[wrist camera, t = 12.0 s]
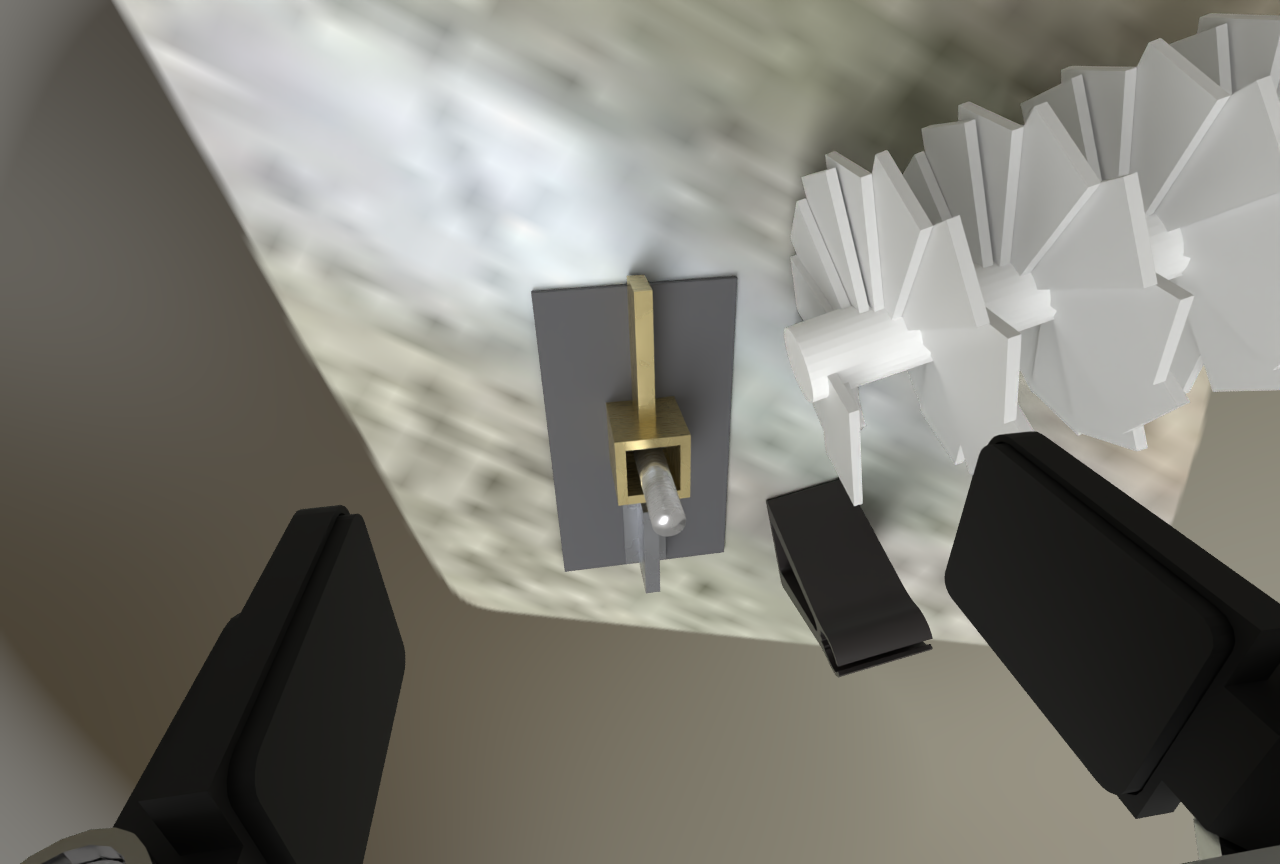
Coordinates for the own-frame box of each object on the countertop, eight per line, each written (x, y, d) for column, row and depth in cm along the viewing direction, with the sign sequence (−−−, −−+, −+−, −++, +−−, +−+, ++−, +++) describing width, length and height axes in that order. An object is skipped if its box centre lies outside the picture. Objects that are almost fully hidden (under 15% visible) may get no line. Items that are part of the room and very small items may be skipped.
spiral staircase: (725, 227, 40) (1123, 77, 37) (811, 485, 41) (1197, 357, 39) (769, 117, 22) (1545, -185, 19) (919, 586, 23) (1650, 358, 21)
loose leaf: (597, 278, 36) (605, 306, 31) (673, 272, 36) (691, 299, 32) (609, 461, 42) (618, 505, 37) (674, 454, 42) (690, 497, 38)
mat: (531, 291, 36) (531, 293, 35) (735, 276, 37) (736, 278, 37) (564, 568, 46) (565, 571, 46) (722, 548, 48) (723, 552, 47)
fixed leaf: (617, 418, 40) (640, 512, 32) (663, 413, 41) (697, 505, 32) (625, 561, 46) (645, 672, 38) (665, 556, 47) (694, 665, 38)
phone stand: (765, 498, 46) (832, 621, 36) (843, 475, 46) (933, 592, 36) (780, 584, 51) (843, 714, 40) (852, 563, 51) (933, 688, 40)
